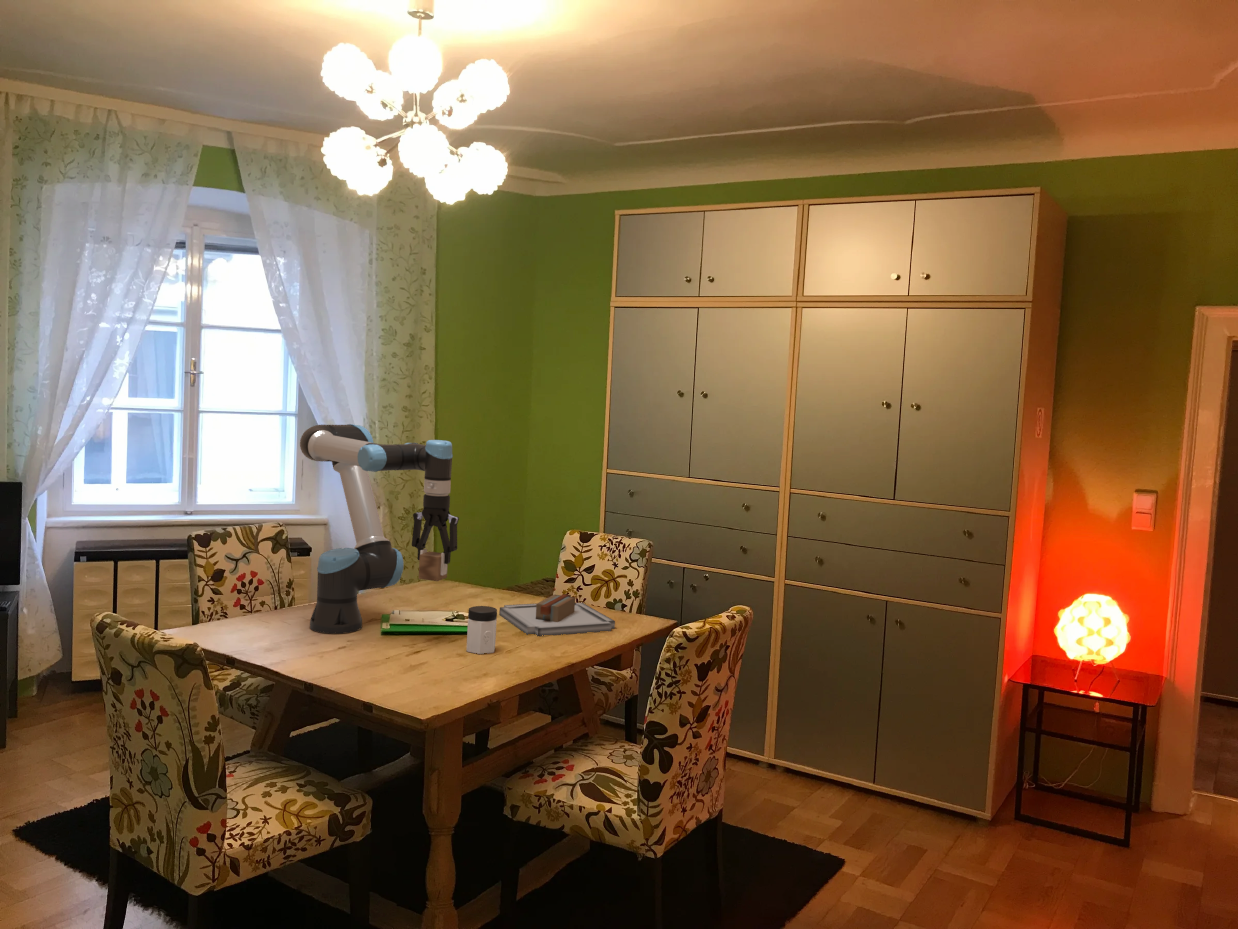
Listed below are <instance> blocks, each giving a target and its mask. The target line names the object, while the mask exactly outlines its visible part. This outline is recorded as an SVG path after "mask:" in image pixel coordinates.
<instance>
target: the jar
mask: <svg viewBox="0 0 1238 929" xmlns="http://www.w3.org/2000/svg"><path fill="white" fill-rule="evenodd" d="M467 617H468V619H467V631H466V632H467V633H466V634H467V635H466V652H467V653H471V654H476V653H477V654H476V655H485V654H484V653H487V654H494V653H495V651H496V638H497V619H498V618H497V617H498V609H497V608H496V607H493V606H489V605H487V606H486V605H475V606H474V605H473V606H471V607H468V615H467Z"/></svg>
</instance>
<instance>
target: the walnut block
mask: <svg viewBox="0 0 1238 929" xmlns="http://www.w3.org/2000/svg"><path fill="white" fill-rule="evenodd" d="M441 553H442V552H437V551H436V552H435V551H427V553H424V554H421V555H420V559H419V560H418V562H419V563H418V564H419V566H418V580H425V581H433V582H439V581H442V580H443V579H447V578H448V573H447V574H445V575H440V573H441ZM448 565H449V564H447V567H448Z"/></svg>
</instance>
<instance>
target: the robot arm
mask: <svg viewBox="0 0 1238 929" xmlns="http://www.w3.org/2000/svg"><path fill="white" fill-rule="evenodd" d="M299 448H300V450H301V453H302V454H303V455H304V456H305V458H307V459H308V460H311V461H314V462H331V464H332V467H333V468H332V469H333V471H335V472H336V473H338V474H339V475H340V482H341V484H342V488H343V493H344V498H345V501H346V505H347V509H348V513H349V517H350V523H351V526H352V530H353V533H354V538H355V539H354V540H355V542H356V543H355V544H356V545H355V546H354V548H353V547H344V548H342V547H341V548H333V549H329V550H326V551H324V552H322V553H321V554H320V556H319V558H318V563H317V582H316V584H317V585H316V586H317V588H316V590H317V591H316V592H317V593H316V604H315V607H314V609H313V612H312V614H311V617H310V621H309V628H310V630H311V631H314V632H317V633H320V634H321V633H322V634H334V635H335V634H348V633H354V632H357V631H359V630H361V629H362V628H363V618H362V614H361V612H360V608H359V604H358V592H359V591H364V590H365V591H367V590H373V589H384V588H387V587H392V586H395V585H397V583H398V582H399V581H400V580H401V578H402V574H403V571H404V564H405V563H404V559H403V558H404V557H403V554H402V552H401V551H400V550H399V549H397V548H396V547H395V548H394V547H393V546H392V542H391V540H389V539H388V538H386V537H385V536H384V531H383V527H382V523H381V519H380V515H379V510H378V506H377V503H376V499H375V495H374V490H373V488H372V484H371V483H372V482H371V479H370V475H369V472H371V473H372V472H373V473H374V472H382V471H384V472H385V471H386V472H388V471H415V470H416V471H421V472H424V477H423V478H424V480H423V481H424V482H423V483H424V484H423V492H424V493H425V494H423V503H422V506H423V508H422V510H421V512H419V511H417V512H414V513H413V514H412V518H413V527H412V528H413V530H412V536H411V537H412V538H411V546H412V547H413V548H414V547H415V548H416V549H417V560H418V561H419V559H420V555H421V554H424V553H427V552H428V549H427V547H426V544H427V542H428V539H429V536H430V533H431V530H432V528H433V527H436V528H437V530H438V531H439V536H440V540H441V543H442V544H441V545H442V548H443V551H442V552H440V553H441V573H440V575H445V574H447V575H448V566H447V564H448V565H449V564H450V563H451V556H452V555H451V553H452V552H455V551H457V550H458V523H459V520H460V518H459V516H454V515H451V512H450V505H451V504H450V503H451V496H450V494H451V490H452V489H451V486H452V485H451V483H452V482H451V481H452V479H451V478H452V467H453V466H452V465H453V456H454V454H453V443H452V442H451V441H449V440H441V439H429V440H427V441H426V444H420V443H417V442H405V443H401V444H400V443H399V444H397V443H396V444H382V443H377V442H374V439H373V436H372V433H370V431H369V430H368V429H367V428H366V427H364V425H359V424H358V425H357V424H353V423H352V424H351V423H349V424H317V425H313V426H311V427H309V428H308V429H306V430H305V431H303V433H302V435H301V436H300V441H299ZM423 519H424V524H423V528H422V520H423ZM447 521H448V523H449V533H448V525H447Z"/></svg>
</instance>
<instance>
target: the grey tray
mask: <svg viewBox="0 0 1238 929" xmlns="http://www.w3.org/2000/svg"><path fill="white" fill-rule="evenodd" d="M498 613H499V614H498V615H499V616H500V617H502V618H503V619H504V620H505V621H507V622H509V623H510V624H511V625H512V626H514V627H515V628H517V629H518V630H519V631H521V632H522V631H523V633H524V634H525V633H526V634H525V635H526V636H529V635H528V634H534V635H535V634H536V635H537V636H536V635H535V636H536V637H538V636H539V637H545V636H544V635H553V636H563V634H566V635H576V634H577V633H580V634H588V633H587V632H594V633H601V632H600V631H608V632H612V630H614V629H615V628H616V620H614V619H612V618H611V617H608V616H607V615H605V614H604V613H602V612H600V611H599V610H596V609H594V608H593V607H591V606H589V605H588V604H586V603H584V602H576V597H575V596H572V595H571V594H566V593H563V594H562V595H559V594H552V595H551V596H548V597H547V598H545V599H543V600H541V601H539V602H537V603H535V602H534V603H519V604H518V603H517V604H504V606H503V607H502V606H501V607H499V612H498ZM561 634H562V635H561ZM542 635H543V636H542Z"/></svg>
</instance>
